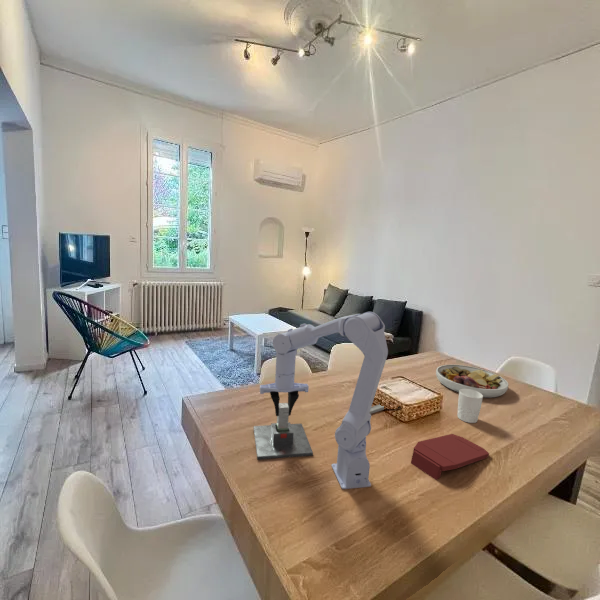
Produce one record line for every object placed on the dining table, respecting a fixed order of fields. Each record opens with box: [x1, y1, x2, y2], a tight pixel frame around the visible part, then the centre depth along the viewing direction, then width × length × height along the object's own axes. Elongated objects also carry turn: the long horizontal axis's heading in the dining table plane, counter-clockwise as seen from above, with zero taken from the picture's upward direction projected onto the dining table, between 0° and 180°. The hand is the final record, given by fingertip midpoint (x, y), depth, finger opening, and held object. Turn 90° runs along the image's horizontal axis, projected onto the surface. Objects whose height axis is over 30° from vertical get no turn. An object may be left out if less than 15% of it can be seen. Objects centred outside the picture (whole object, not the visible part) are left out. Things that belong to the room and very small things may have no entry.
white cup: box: [457, 389, 484, 424], centre depth 125 cm, size 8×8×10 cm
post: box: [276, 402, 289, 432], centre depth 103 cm, size 3×3×8 cm
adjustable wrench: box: [370, 403, 384, 415], centre depth 128 cm, size 25×6×2 cm, turn 119°
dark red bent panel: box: [410, 433, 490, 481], centre depth 101 cm, size 12×5×25 cm
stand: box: [253, 421, 314, 461], centre depth 104 cm, size 16×16×4 cm
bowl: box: [435, 364, 509, 398], centre depth 157 cm, size 30×30×8 cm
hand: (282, 414), depth 102 cm, fingers closed on post, 3 cm apart
